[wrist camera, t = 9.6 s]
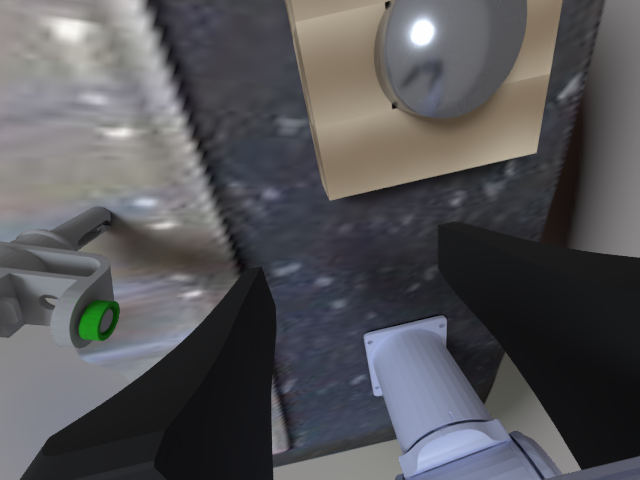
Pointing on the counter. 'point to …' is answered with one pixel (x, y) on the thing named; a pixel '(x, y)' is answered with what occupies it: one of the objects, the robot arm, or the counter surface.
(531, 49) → the block
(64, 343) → the mechanical component
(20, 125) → the counter surface
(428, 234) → the counter surface
